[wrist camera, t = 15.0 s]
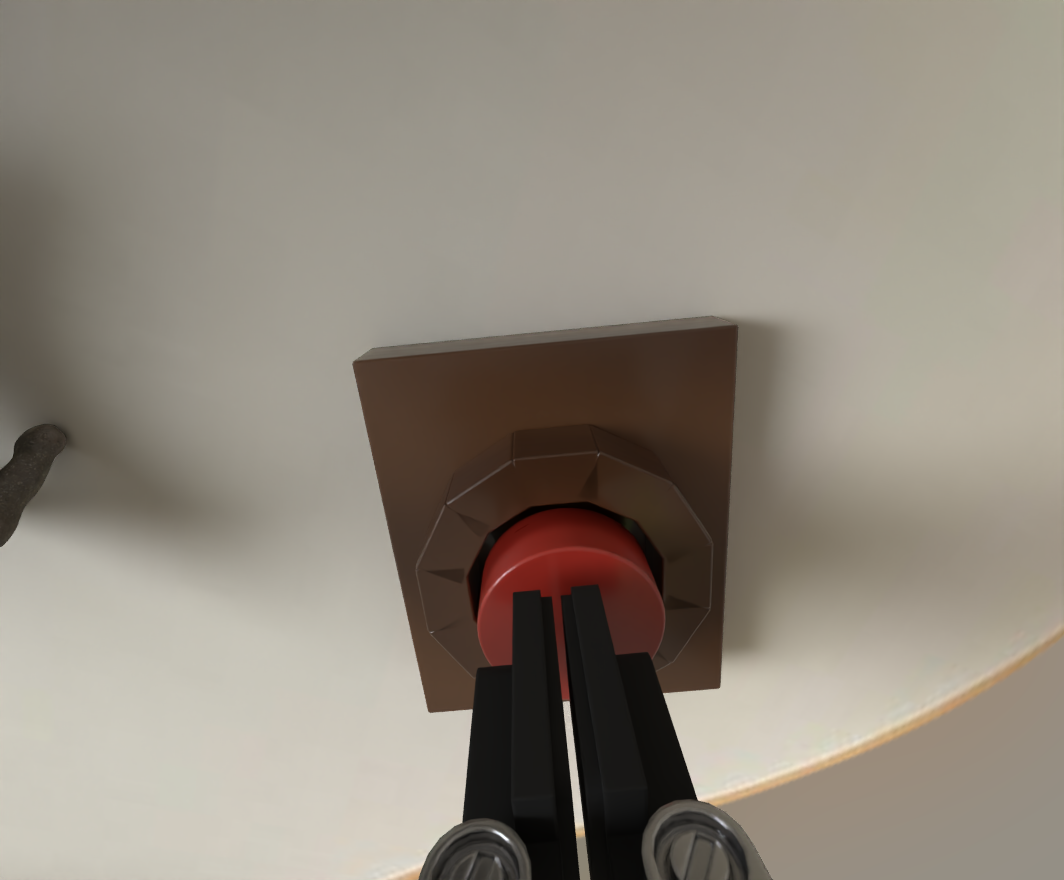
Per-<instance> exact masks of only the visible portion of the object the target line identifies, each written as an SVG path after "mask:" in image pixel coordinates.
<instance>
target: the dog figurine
mask: <svg viewBox="0 0 1064 880" xmlns="http://www.w3.org/2000/svg"><path fill="white" fill-rule="evenodd" d="M65 444H66V437H65V435H64V434H63V433H62V432H61V431H60V430H59V429H58V428H57V427H56V426H54V425H50V424H43V425H39V426H35V427H33V428H31V429H28V430H27V431H25V432H24V433H23V434H22V435H21V436H20V437H19V438H18V440H17V441H16V443H15V446H14V454H13V458H12V459H11V461H10V462H9V463H8V464H7V465H6V466H5V467H4V468H2V469H1V470H0V547H2V546H3V545H4V544H5V543H6V542H7V541H8V540H9V538H10V537H11V536H12V534H13V533H14V531H15V529H16V527H17V525H18V522H19V520H20V517H21V514H22V511H23V509H24V507H25V506H26V505H27V503H28V502H29V501H30V500H31V499H32V498H33V497H34V496H35V494H36V493H37V492H38V490H39V489H40V487H41V486H42V484H43V483H44V481H45V478H46V477H47V474H48V472H49V470H50V467H51V465H52V463H53V461H54V459H55V457H56V456H57V455H58V454H59V453H61V452H62V451H63V449H64V448H65Z"/></svg>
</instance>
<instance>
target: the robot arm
mask: <svg viewBox="0 0 1064 880" xmlns="http://www.w3.org/2000/svg"><path fill="white" fill-rule="evenodd" d="M561 606H562V618H563V629H564V641H565V653H566V664H567V676H568V687H569V699H570V709H571V718H572V726H573V735H574V743H575V752H576V761H577V769H578V778H579V786H580V795H581V803H582V812H583V820H584V829H585V837H586V846H587V854H588V863H589V871H590V879H591V880H773V879H772V878H771V876H770V874H769V872H768V870H767V868H766V867H765V865H764V863H763V861H762V859H761V857H760V856H759V854H758V852H757V850H756V848H755V846H754V844H753V843H752V841H751V840H750V838H749V837H748V835H747V834H746V833H745V831H744V830H743V828H742V827H741V826H740V825H739V824H738V823H737V822H736V821H735V820H734V819H733V818H732V817H730V816H729V815H728V814H727V813H726V812H724V811H722V810H721V809H719V808H717V807H715V806H713V805H711V804H709V803H706V802H701V801H698V800H697V797H696V794H695V790H694V787H693V784H692V781H691V778H690V775H689V772H688V769H687V766H686V763H685V760H684V757H683V754H682V751H681V748H680V744H679V741H678V738H677V735H676V732H675V729H674V726H673V723H672V720H671V717H670V714H669V711H668V708H667V705H666V702H665V699H664V695H663V692H662V689H661V686H660V683H659V680H658V677H657V674H656V671H655V668H654V665H653V662H652V659H651V657H650V655H649V653H648V652H640V653H629V654H619V655H615V650H614V646H613V642H612V638H611V634H610V630H609V626H608V622H607V617H606V613H605V609H604V605H603V601H602V597H601V593H600V589H599V585H598V584H594V585H584V586H573V587H571V594H570V595H561ZM419 880H580V876H579V865H578V854H577V843H576V832H575V822H574V811H573V800H572V790H571V780H570V770H569V760H568V750H567V740H566V731H565V721H564V711H563V701H562V691H561V681H560V672H559V662H558V652H557V642H556V632H555V623H554V613H553V603H552V596H549V597H541V591H540V590H531V591H520V592H513V622H512V665H501V666H491V667H480V668H478V669H477V673H476V681H475V691H474V702H473V713H472V724H471V735H470V746H469V757H468V768H467V778H466V789H465V800H464V811H463V822H462V823H461V824H459V825H457V826H454V827H453V828H452V829H451V830H449V831H448V832H447V833H446V834H444V835H443V836H442V837H441V838H440V839H439V840H438V842H437V843H436V844H435V846H434V847H433V848H432V850H431V851H430V852H429V854H428V856H427V858H426V861H425V863H424V865H423V868H422V870H421V873H420V876H419Z"/></svg>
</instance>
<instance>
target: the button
mask: <svg viewBox="0 0 1064 880" xmlns="http://www.w3.org/2000/svg"><path fill="white" fill-rule="evenodd" d="M594 584H598V585H599V589H600V593H601V597H602V601H603V605H604V609H605V613H606V617H607V622H608V626H609V630H610V634H611V638H612V642H613V646H614V650H615V655H619V654H629V653H640V652H648V653H649V655H650V657H651V659H653V658H654V656H655V654H656V652H657V651H658V649H659V646H660V644H661V641H662V638H663V634H664V630H665V608H664V604H663V600H662V597H661V595H660V592H659V590H658V587H657V585H656V582H655V580H654V577H653V575H652V572H651V570H650V567H649V564H648V562H647V559H646V557H645V555H644V552H643V550H642V548H641V546H640V544H639V543H638V541H637V540H636V538H635V537H634V536H633V535H632V534H631V533H630V532H629V531H628V530H627V529H626V528H625V527H624V526H623V525H621V524H620V523H618V522H617V521H615V520H613V519H611V518H609V517H607V516H605V515H603V514H600V513H597V512H594V511H591V510H586V509H580V508H557V509H550V510H545V511H542V512H538V513H535V514H533V515H530V516H528V517H526V518H524V519H522V520H520V521H519V522H517V523H516V524H514V525H513V526H511V527H510V528H509V529H508V530H507V531H505V532H504V533H503V534H502V535H501V536H500V537H499V539H498V540H497V541H496V542H495V544H494V545H493V547H492V549H491V550H490V552H489V554H488V556H487V559H486V561H485V565H484V569H483V576H482V584H481V592H480V601H479V609H478V618H477V632H478V638H479V642H480V646H481V648H482V650H483V653H484V655H485V657H486V658H487V660H488V662H489V663H490V665H491V666H501V665H512V622H513V592H520V591H531V590H540V591H541V597H549V596H552V603H553V613H554V623H555V632H556V642H557V652H558V662H559V672H560V681H561V691H562V700H570V699H569V687H568V676H567V664H566V653H565V641H564V629H563V618H562V606H561V595H570V594H571V587H573V586H584V585H594Z"/></svg>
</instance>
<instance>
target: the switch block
mask: <svg viewBox="0 0 1064 880" xmlns="http://www.w3.org/2000/svg"><path fill="white" fill-rule="evenodd" d="M737 343H738V326H737V325H735V324H733V323H730V322H727V321H725V320H722V319H719V318H716V317H714V316H706V317H696V318H685V319H675V320H664V321H654V322H643V323H633V324H622V325H612V326H601V327H591V328H580V329H570V330H559V331H549V332H538V333H528V334H517V335H507V336H496V337H486V338H475V339H465V340H454V341H444V342H433V343H423V344H412V345H402V346H391V347H381V348H373V349H371V350H369V351H368V352H366V353H365V354H364V355H362V356H361V357H359V358H358V359H356V360H355V361H353V369H354V373H355V378H356V382H357V387H358V392H359V396H360V401H361V405H362V410H363V415H364V419H365V424H366V428H367V433H368V437H369V442H370V447H371V451H372V456H373V460H374V465H375V470H376V474H377V479H378V483H379V488H380V492H381V497H382V502H383V506H384V511H385V515H386V520H387V525H388V529H389V534H390V538H391V543H392V547H393V552H394V557H395V561H396V566H397V570H398V575H399V580H400V584H401V589H402V593H403V598H404V602H405V607H406V612H407V616H408V621H409V625H410V630H411V635H412V639H413V644H414V648H415V653H416V658H417V662H418V667H419V671H420V676H421V680H422V685H423V690H424V694H425V699H426V703H427V708H428V712H430V713H433V712H445V711H457V710H469V709H473V702H474V691H475V681H476V673H477V669H478V668H480V667H491V665H490V663H489V662H488V660H487V658H486V657H485V655H484V653H483V650H482V648H481V646H480V642H479V638H478V632H477V618H478V609H479V601H480V592H481V584H482V576H483V569H484V565H485V561H486V559H487V556H488V554H489V552H490V550H491V549H492V547H493V545H494V544H495V542H496V541H497V540H498V539H499V537H500V536H501V535H502V534H503V533H504V532H505V531H507V530H508V529H509V528H510V527H511V526H513V525H514V524H516V523H517V522H519V521H520V520H522V519H524V518H526V517H528V516H530V515H533V514H535V513H538V512H542V511H545V510H550V509H557V508H580V509H586V510H591V511H594V512H597V513H600V514H603V515H605V516H607V517H609V518H611V519H613V520H615V521H617V522H618V523H620V524H621V525H623V526H624V527H625V528H626V529H627V530H628V531H629V532H630V533H631V534H632V535H633V536H634V537H635V538H636V540H637V541H638V543H639V544H640V546H641V548H642V550H643V552H644V555H645V557H646V559H647V562H648V564H649V567H650V570H651V572H652V575H653V577H654V580H655V582H656V585H657V587H658V590H659V592H660V595H661V597H662V600H663V604H664V608H665V630H664V634H663V638H662V641H661V644H660V646H659V649H658V651H657V652H656V654H655V656H654V658H653V659H652V662H653V665H654V668H655V671H656V674H657V677H658V680H659V683H660V686H661V689H662V692H663V693H672V692H684V691H696V690H708V689H719V688H720V683H721V663H722V643H723V623H724V603H725V583H726V563H727V543H728V523H729V503H730V483H731V463H732V443H733V423H734V403H735V383H736V363H737ZM562 701H563V702H565V701H570V700H562Z"/></svg>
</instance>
